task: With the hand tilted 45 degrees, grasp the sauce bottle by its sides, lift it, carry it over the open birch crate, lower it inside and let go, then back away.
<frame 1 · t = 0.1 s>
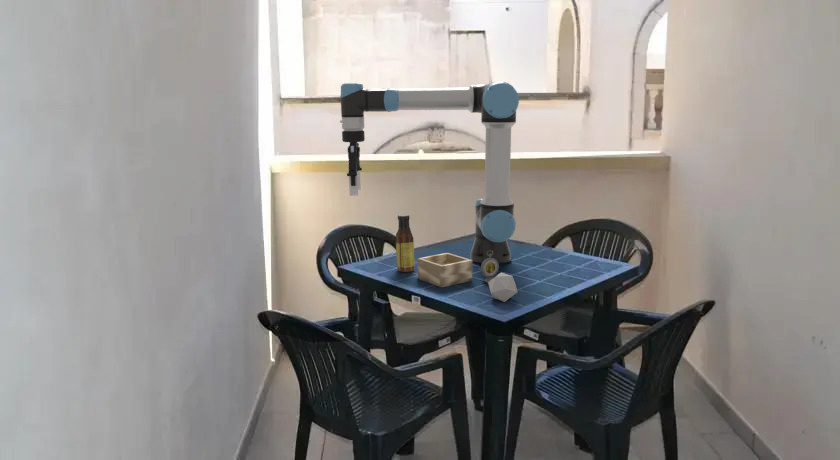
hand: (355, 192, 232), 28 cm above the table, tool pointing down, fingers open, 13 cm apart
sauce bottle: (405, 271, 238), on the table
pocket watch: (493, 282, 224), on the table
crate: (444, 279, 226), on the table
die: (502, 299, 206), on the table
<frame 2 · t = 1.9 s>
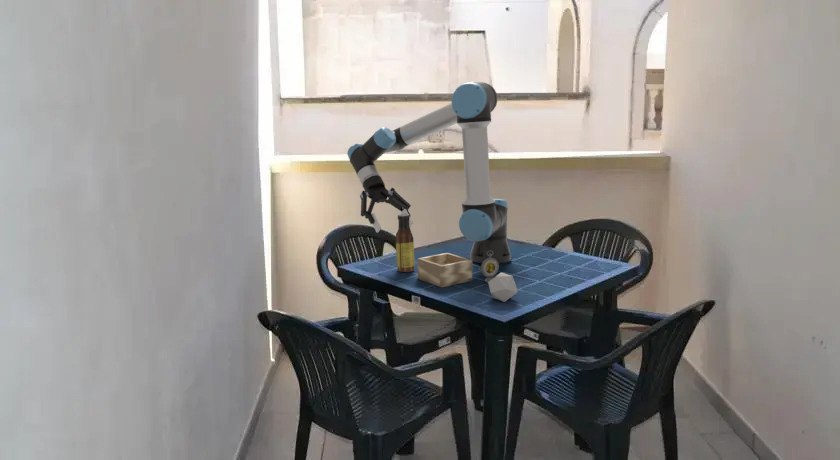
hand: (395, 228, 238), 15 cm above the table, tool tilted 45°, fingers open, 13 cm apart
nothing on the table moved.
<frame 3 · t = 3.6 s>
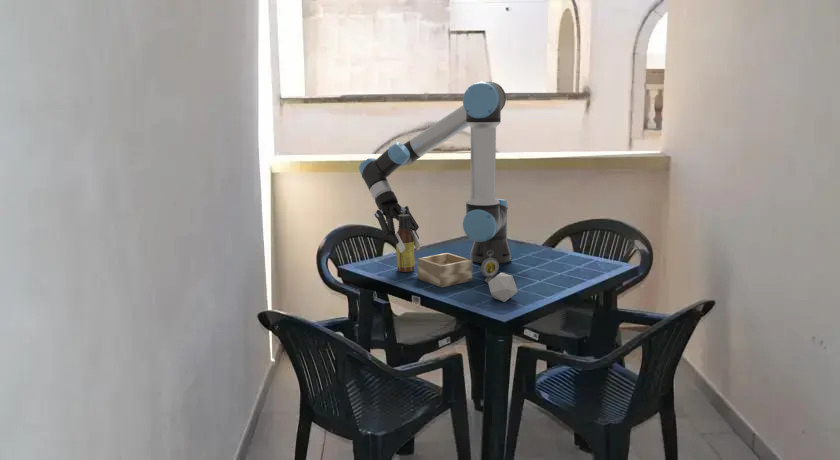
hand: (411, 249, 233), 8 cm above the table, tool tilted 45°, fingers closed on sauce bottle, 6 cm apart
sauce bottle: (405, 271, 238), on the table, touching gripper
everything else where it was.
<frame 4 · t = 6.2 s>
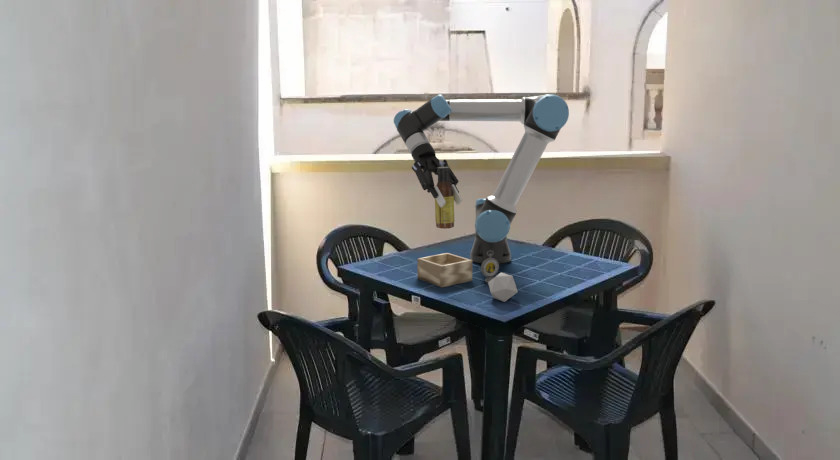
hand: (451, 203, 218), 26 cm above the table, tool tilted 45°, fingers closed on sauce bottle, 6 cm apart
sauce bottle: (444, 227, 223), point 18 cm above the table, touching gripper
everything else where it was.
when the fingers open (10 cm above the table, at t = 9.0 s): sauce bottle stays where it is, resting on crate.
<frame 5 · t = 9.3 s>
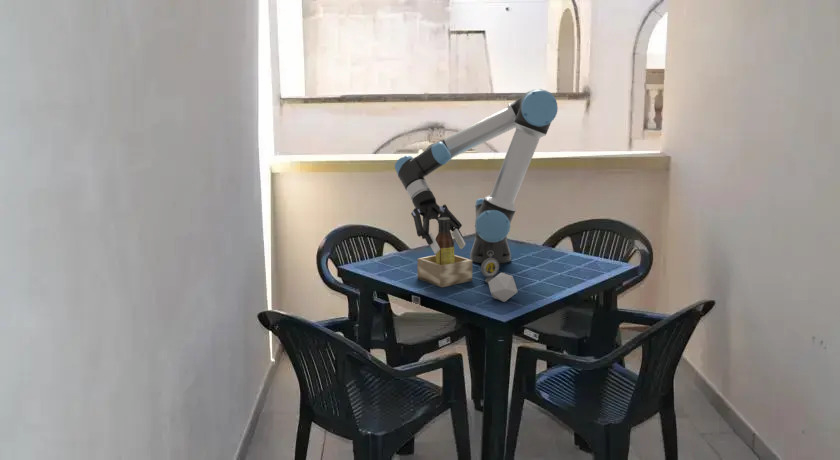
hand: (450, 249, 222), 11 cm above the table, tool tilted 45°, fingers open, 10 cm apart
sauce bottle: (445, 277, 226), point 1 cm above the table, touching crate
everything else where it was.
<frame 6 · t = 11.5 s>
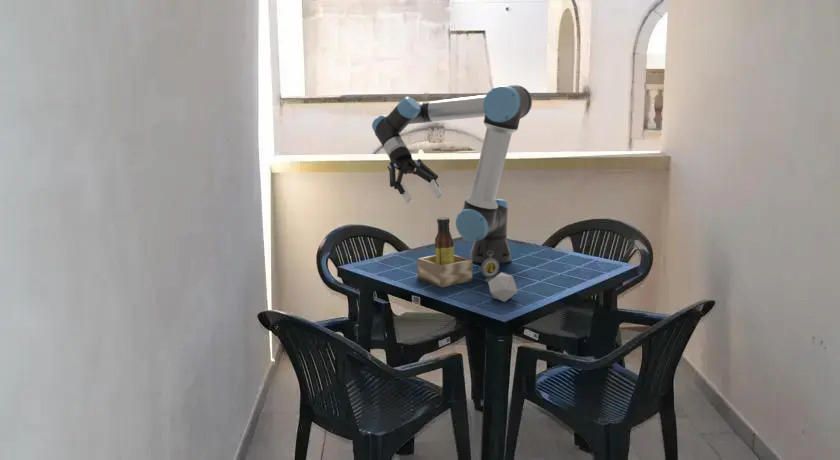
hand: (424, 198, 235), 25 cm above the table, tool tilted 45°, fingers open, 13 cm apart
nothing on the table moved.
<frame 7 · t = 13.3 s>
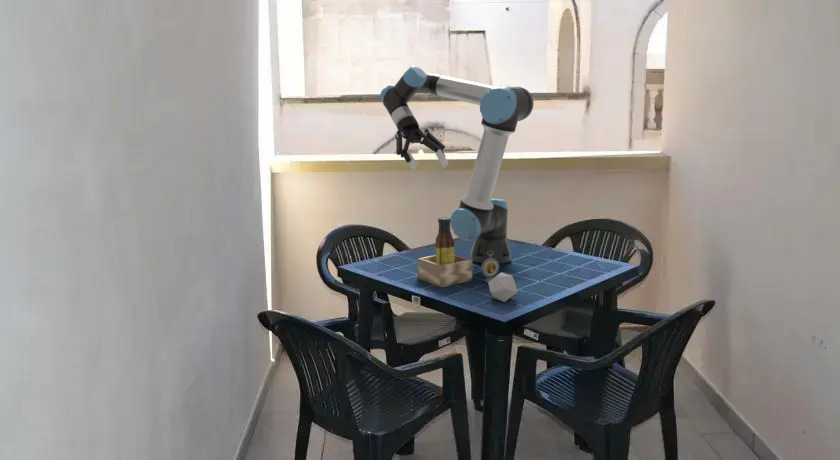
hand: (430, 167, 237), 36 cm above the table, tool tilted 45°, fingers open, 13 cm apart
nothing on the table moved.
at the end: sauce bottle inside the target area on the crate (0.1 cm from its centre), point 0.8 cm above the crate's base; sauce bottle tilted 1°; the gripper is holding nothing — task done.
